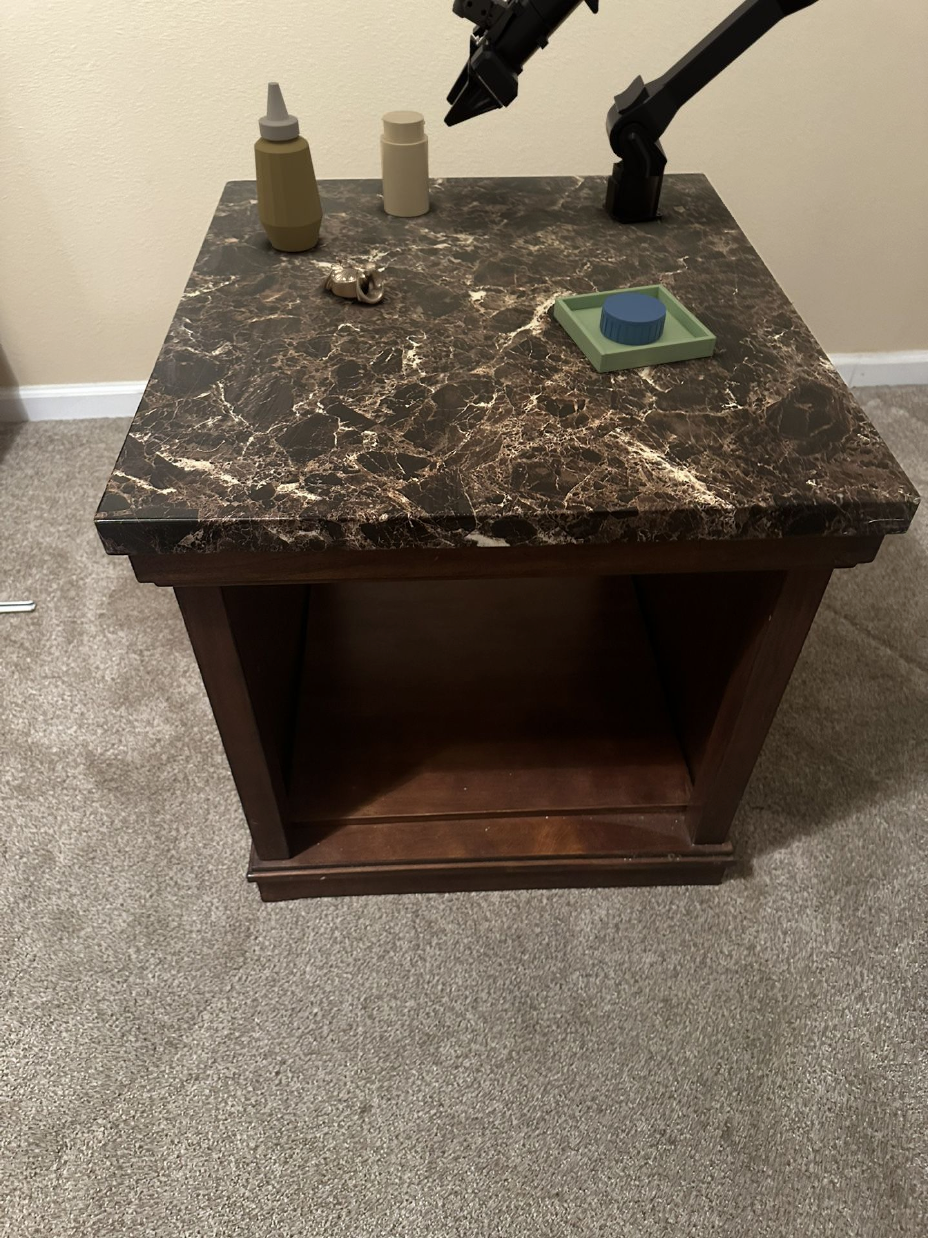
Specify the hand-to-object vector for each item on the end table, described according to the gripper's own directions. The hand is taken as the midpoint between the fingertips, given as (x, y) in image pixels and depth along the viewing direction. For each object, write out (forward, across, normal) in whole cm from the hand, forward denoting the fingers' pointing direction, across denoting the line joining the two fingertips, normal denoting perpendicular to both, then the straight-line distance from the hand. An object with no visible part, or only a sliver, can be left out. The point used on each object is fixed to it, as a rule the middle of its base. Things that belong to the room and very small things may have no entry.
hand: (447, 112), depth 107 cm
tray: (-7, +35, +24) cm, 43 cm away
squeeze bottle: (+22, +13, -5) cm, 26 cm away
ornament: (+16, +26, +2) cm, 31 cm away
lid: (-9, +35, +22) cm, 42 cm away
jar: (+12, 0, +4) cm, 13 cm away
